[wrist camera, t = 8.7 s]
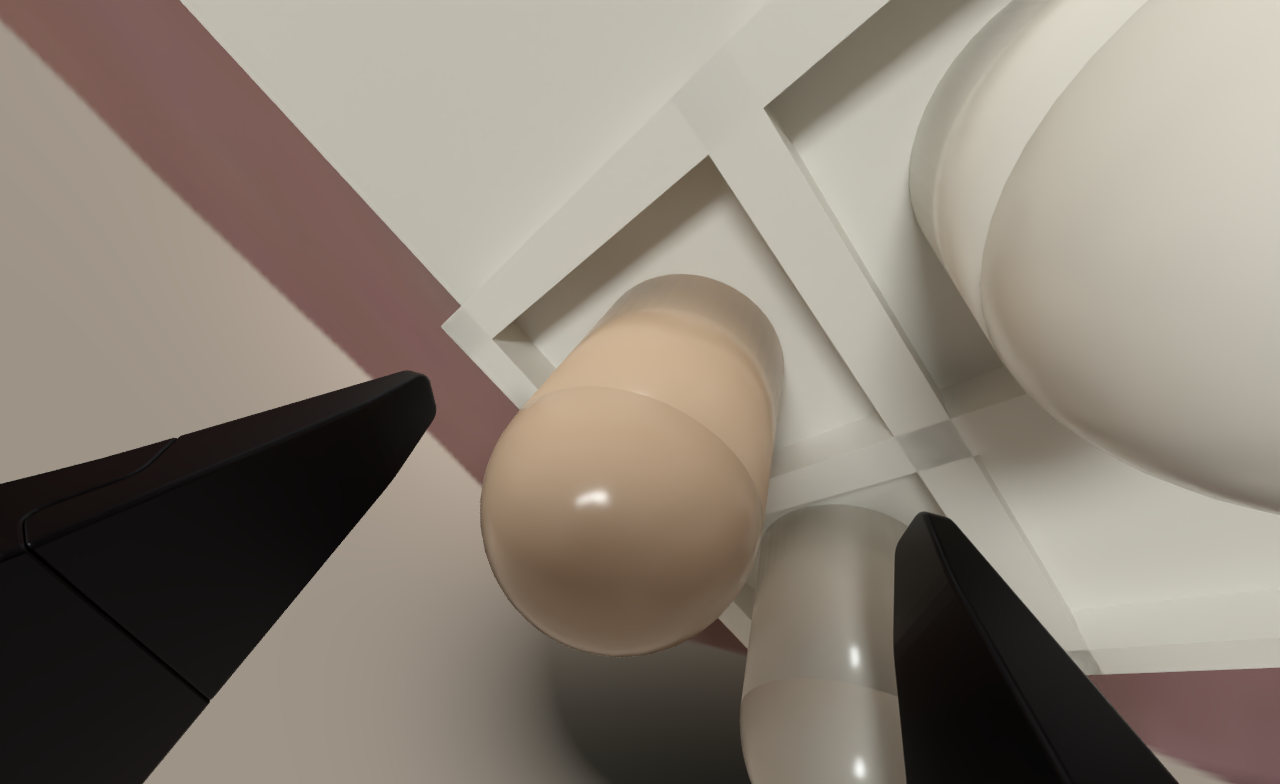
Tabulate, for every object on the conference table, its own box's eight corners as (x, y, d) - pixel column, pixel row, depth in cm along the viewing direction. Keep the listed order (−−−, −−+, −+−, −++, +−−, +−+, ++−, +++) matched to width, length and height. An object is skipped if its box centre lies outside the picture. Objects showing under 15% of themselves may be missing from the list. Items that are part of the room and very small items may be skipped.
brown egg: (815, 308, 9) (805, 611, 4) (748, 459, 12) (692, 756, 7) (611, 249, 10) (381, 446, 5) (591, 405, 13) (432, 638, 7)
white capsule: (971, 543, 11) (1097, 945, 6) (884, 627, 14) (920, 955, 9) (792, 482, 12) (770, 798, 7) (742, 573, 15) (699, 849, 9)
